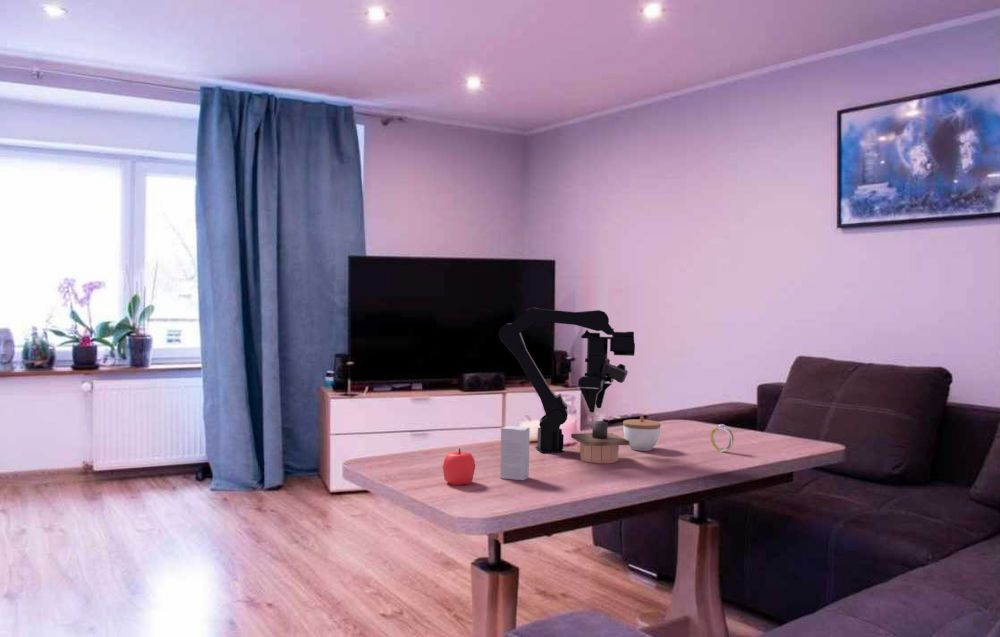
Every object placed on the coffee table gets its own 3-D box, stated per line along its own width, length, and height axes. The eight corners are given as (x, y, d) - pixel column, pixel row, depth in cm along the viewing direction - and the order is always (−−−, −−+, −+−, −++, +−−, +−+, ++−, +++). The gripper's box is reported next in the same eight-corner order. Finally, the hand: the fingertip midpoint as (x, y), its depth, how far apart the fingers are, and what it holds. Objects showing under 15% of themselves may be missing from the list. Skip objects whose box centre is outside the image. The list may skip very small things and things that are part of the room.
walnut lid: (586, 445, 192) (586, 426, 192) (571, 437, 204) (571, 419, 203) (629, 445, 195) (629, 426, 195) (611, 436, 206) (612, 418, 206)
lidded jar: (663, 452, 211) (664, 420, 210) (625, 451, 211) (626, 419, 211) (655, 445, 221) (656, 414, 221) (620, 444, 221) (620, 413, 221)
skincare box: (529, 477, 177) (530, 427, 177) (523, 481, 173) (525, 430, 173) (505, 474, 179) (506, 425, 179) (499, 478, 175) (500, 428, 175)
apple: (447, 488, 165) (448, 452, 165) (436, 480, 172) (437, 445, 172) (481, 485, 168) (482, 450, 168) (468, 477, 175) (469, 444, 175)
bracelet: (708, 450, 216) (709, 422, 216) (715, 449, 218) (716, 422, 218) (727, 454, 211) (728, 426, 210) (735, 453, 212) (735, 425, 212)
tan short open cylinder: (588, 464, 193) (588, 445, 193) (575, 456, 203) (575, 437, 203) (623, 463, 196) (624, 444, 195) (609, 455, 205) (610, 437, 205)
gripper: (619, 358, 196) (618, 416, 197) (631, 354, 214) (629, 408, 214) (578, 356, 200) (577, 413, 200) (593, 352, 218) (592, 405, 218)
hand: (595, 410), depth 208 cm, fingers open, 9 cm apart
